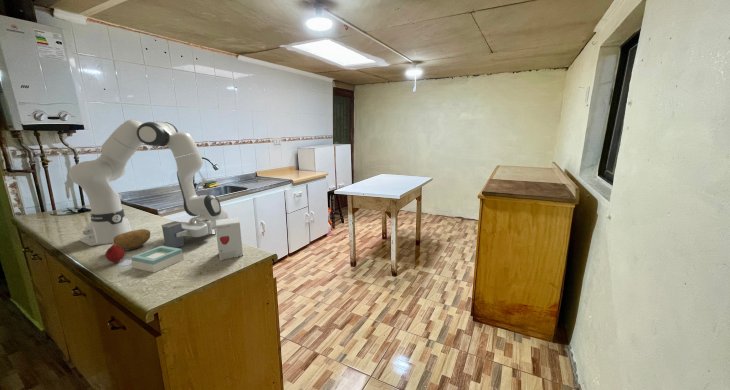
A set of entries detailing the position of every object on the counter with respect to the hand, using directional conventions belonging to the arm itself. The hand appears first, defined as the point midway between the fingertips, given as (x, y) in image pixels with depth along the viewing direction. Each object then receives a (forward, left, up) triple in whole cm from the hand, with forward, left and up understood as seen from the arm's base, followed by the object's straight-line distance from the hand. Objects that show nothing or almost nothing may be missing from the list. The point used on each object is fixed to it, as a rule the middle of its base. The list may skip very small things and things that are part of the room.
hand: (171, 234), depth 129 cm
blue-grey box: (0, +1, -6) cm, 6 cm away
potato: (-18, -5, -7) cm, 20 cm away
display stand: (+9, -13, -6) cm, 17 cm away
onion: (-8, -18, -7) cm, 21 cm away
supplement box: (+30, +3, -7) cm, 31 cm away
